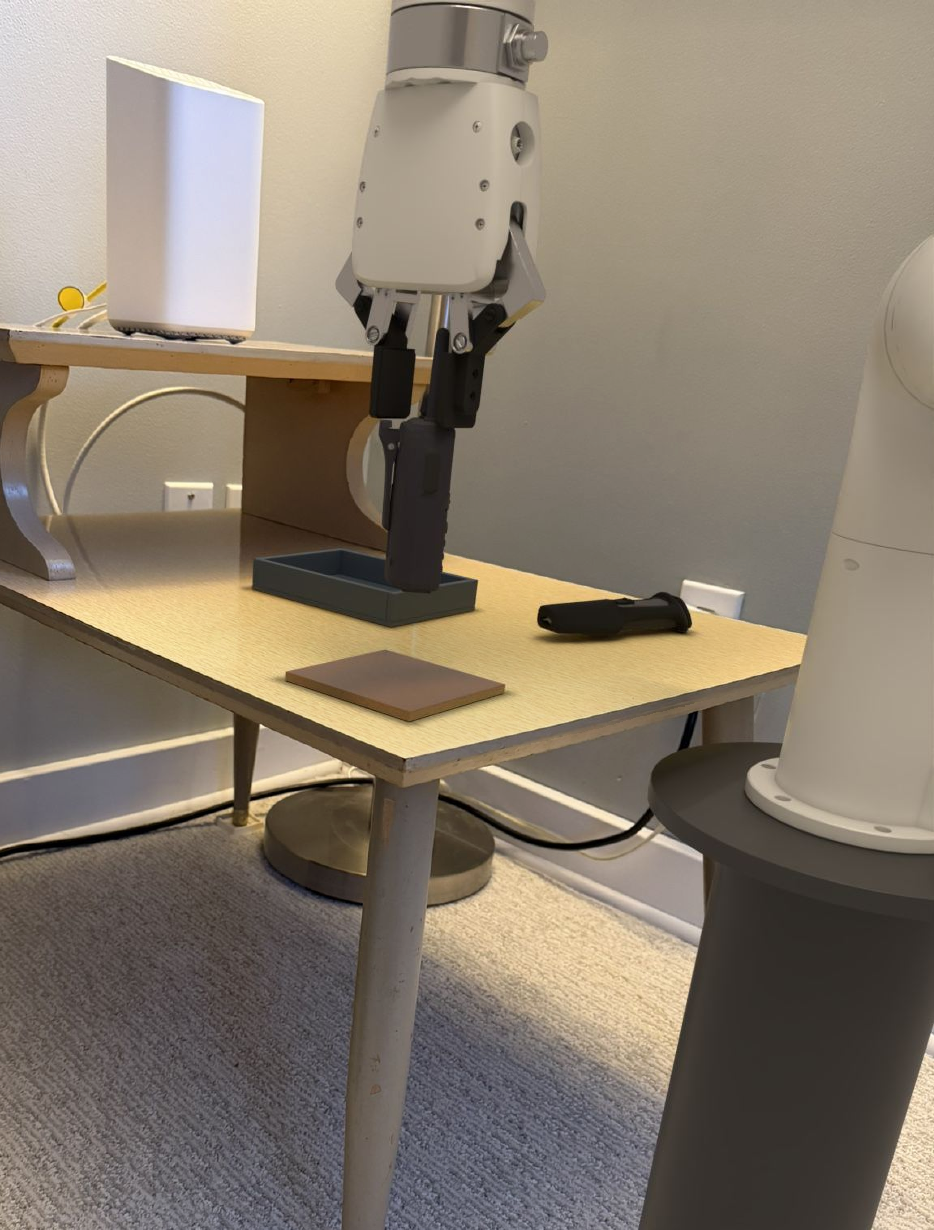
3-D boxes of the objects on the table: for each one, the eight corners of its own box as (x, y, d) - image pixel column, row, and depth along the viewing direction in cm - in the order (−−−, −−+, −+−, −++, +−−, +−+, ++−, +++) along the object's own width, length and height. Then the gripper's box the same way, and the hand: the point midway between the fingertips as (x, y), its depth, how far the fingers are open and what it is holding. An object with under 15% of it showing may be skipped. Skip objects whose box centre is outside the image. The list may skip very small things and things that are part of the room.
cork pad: (504, 693, 75) (505, 684, 74) (408, 721, 67) (409, 712, 67) (384, 657, 81) (385, 649, 80) (284, 680, 73) (285, 671, 73)
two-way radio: (444, 597, 69) (473, 329, 64) (370, 593, 69) (393, 322, 64) (431, 579, 75) (456, 329, 69) (362, 575, 74) (382, 323, 69)
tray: (474, 610, 97) (478, 579, 96) (391, 627, 89) (394, 593, 88) (338, 576, 106) (341, 547, 105) (251, 588, 98) (253, 558, 97)
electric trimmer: (521, 637, 90) (526, 597, 89) (660, 622, 99) (666, 585, 97) (554, 649, 88) (560, 608, 86) (694, 633, 96) (701, 595, 95)
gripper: (632, 69, 60) (578, 439, 66) (380, 88, 69) (354, 408, 76) (555, 33, 54) (504, 440, 61) (294, 59, 64) (274, 407, 70)
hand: (421, 419), depth 68 cm, fingers closed on two-way radio, 4 cm apart
